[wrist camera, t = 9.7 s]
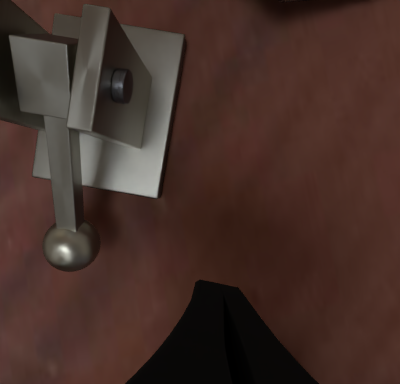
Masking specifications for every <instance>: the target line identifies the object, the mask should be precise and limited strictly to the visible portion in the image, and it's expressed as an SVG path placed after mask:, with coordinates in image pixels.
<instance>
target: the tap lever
mask: <svg viewBox="0 0 400 384" xmlns="http://www.w3.org/2000/svg"><path fill="white" fill-rule="evenodd" d="M9 41H10V48H11V55H12V61H13V68H14V74H15V81H16V88H17V94H18V101H19V107H20V111H22V112H28V113H33V114H39V115H44V123H45V132H46V141H47V149H48V158H49V167H50V175H51V184H52V193H53V202H54V210H55V219H56V223H54V224H53V225H52V226H51V227H50V228H49V229H48V231H47V232H46V234H45V236H44V239H43V244H42V249H43V254H44V256H45V258H46V260H47V261H48V263H49V264H50V265H51V266H53V267H54V268H56V269H58V270H61V271H66V272H73V271H78V270H81V269H83V268H85V267H87V266H88V265H90V264H91V263H92V262H93V261H94V260H95V258H96V257H97V255H98V253H99V250H100V244H101V241H100V235H99V233H98V231H97V229H96V228H95V226H94V225H93V224H91V223H90V222H89V221H87V220H85V219H84V206H83V189H82V172H81V154H80V137H79V132H77V131H74V130H71V129H68V128H66V121H67V114H68V108H69V101H70V94H71V87H72V80H73V73H74V66H75V59H76V53H77V46H78V39H76V38H70V37H64V36H58V35H52V34H46V33H44V34H15V35H9Z"/></svg>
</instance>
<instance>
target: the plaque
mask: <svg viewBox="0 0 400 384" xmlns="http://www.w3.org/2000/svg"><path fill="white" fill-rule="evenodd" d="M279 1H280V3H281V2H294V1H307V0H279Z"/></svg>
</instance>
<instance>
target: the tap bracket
mask: <svg viewBox="0 0 400 384" xmlns="http://www.w3.org/2000/svg"><path fill="white" fill-rule="evenodd" d="M44 33H46V34H49V33H48V32H47V31H46V30H45V29H43V28H42V27H41V26H40V25H39V24H38V23H36V22H35V21H34V20H33V19H32V18H31V17H30V16H28V15H27V14H26V13H25V12H24V11H23V10H22V9H20V8H19V7H18V6H17V5H16V4H15V3H14V2H12V1H11V0H0V120H2V121H6V122H10V123H14V124H18V125H21V126H25V127H29V128H33V129H37V130H38V136H37V144H36V151H35V158H34V165H33V172H32V176H33V177H36V178H42V179H48V180H51V175H50V167H49V158H48V149H47V141H46V132H45V123H44V115H39V114H33V113H28V112H22V111H20V107H19V101H18V94H17V88H16V81H15V74H14V68H13V61H12V55H11V48H10V41H9V35H15V34H44ZM52 35H58V36H64V37H70V38H76V39H78V46H77V53H76V59H75V66H74V73H73V80H72V87H71V94H70V101H69V108H68V114H67V121H66V128H68V129H71V130H74V131H77V132H79V137H80V154H81V172H82V186H87V187H92V188H98V189H104V190H109V191H115V192H120V193H126V194H132V195H137V196H143V197H148V198H154V199H158V198H160V197H161V192H162V186H163V180H164V174H165V168H166V162H167V156H168V150H169V144H170V138H171V132H172V126H173V120H174V114H175V108H176V102H177V97H178V91H179V85H180V79H181V73H182V67H183V61H184V55H185V49H186V39H185V35H184V34H179V33H173V32H167V31H161V30H155V29H148V28H142V27H136V26H130V25H124V24H119V22H118V20H117V19H116V17H115V15H114V14H113V12H112V10H111V9H110V8H107V7H100V6H94V5H88V4H84V5H83V11H82V18H81V17H75V16H69V15H63V14H56V13H55V15H54V22H53V29H52Z"/></svg>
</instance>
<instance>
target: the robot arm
mask: <svg viewBox="0 0 400 384" xmlns="http://www.w3.org/2000/svg"><path fill="white" fill-rule="evenodd" d="M125 384H319V383H318V382H317V381H316V380H315V379H314V378H313V377H312V376H311V375H310V374H309V373H308V372H307V371H306V370H305V369H304V368H303V367H302V366H301V365H300V364H299V363H298V362H297V361H296V360H295V359H294V357H293V356H292V355H291V354H290V353H289V352H288V351H287V349H286V348H285V347H284V346H283V345H282V344H281V343H280V341H279V340H278V339H277V338H276V336H275V335H274V334H273V333H272V332H271V330H270V329H269V328H268V327H267V325H266V324H265V323H264V321H263V320H262V319H261V317H260V316H259V315H258V313H257V312H256V311H255V309H254V308H253V307H252V305H251V304H250V303H249V301H248V300H247V298H246V297H245V296H244V294H243V293H242V292H241V290H240V289H239V288H238V287H233V286H228V285H224V284H219V283H214V282H209V281H204V280H199V281H197V282H196V283H195V287H194V291H193V295H192V299H191V301H190V303H189V305H188V307H187V308H186V310H185V312H184V314H183V316H182V317H181V319H180V320H179V322H178V323H177V325H176V326H175V328H174V329H173V331H172V332H171V333H170V335H169V336H168V337H167V339H166V340H165V341H164V343H163V344H162V345H161V346H160V348H159V349H158V350H157V351H156V352H155V353H154V355H153V356H152V357H151V358H150V359H149V360H148V361H147V362H146V363H145V364H144V365H143V366H142V367H141V368H140V369H139V370H138V372H137V373H136V374H135V375H134V376H133V377H132V378H130V379H129V380H128V381H127V382H126V383H125Z"/></svg>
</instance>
